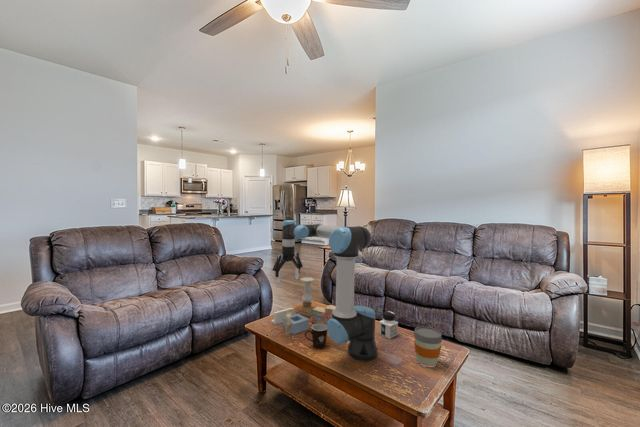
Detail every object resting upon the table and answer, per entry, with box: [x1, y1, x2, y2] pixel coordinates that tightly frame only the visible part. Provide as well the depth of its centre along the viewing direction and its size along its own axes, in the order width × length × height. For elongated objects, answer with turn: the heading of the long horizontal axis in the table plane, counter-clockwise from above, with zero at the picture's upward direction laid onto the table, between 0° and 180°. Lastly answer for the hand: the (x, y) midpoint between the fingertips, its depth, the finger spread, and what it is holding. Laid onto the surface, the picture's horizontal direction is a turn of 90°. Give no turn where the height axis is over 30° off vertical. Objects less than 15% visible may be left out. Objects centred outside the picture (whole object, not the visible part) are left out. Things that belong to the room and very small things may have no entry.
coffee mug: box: [304, 324, 328, 350], centre depth 149 cm, size 12×9×10 cm
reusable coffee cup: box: [413, 326, 443, 366], centre depth 135 cm, size 13×13×15 cm
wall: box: [270, 307, 295, 325], centre depth 180 cm, size 5×14×7 cm, turn 130°
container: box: [378, 310, 399, 339], centre depth 163 cm, size 8×8×13 cm
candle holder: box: [295, 276, 316, 319], centre depth 191 cm, size 11×11×24 cm
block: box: [282, 313, 310, 335], centre depth 169 cm, size 11×11×6 cm
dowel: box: [284, 311, 292, 338], centre depth 159 cm, size 3×3×14 cm
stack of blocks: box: [311, 304, 336, 326], centre depth 172 cm, size 21×6×12 cm, turn 58°
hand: (287, 280), depth 171 cm, fingers open, 13 cm apart
